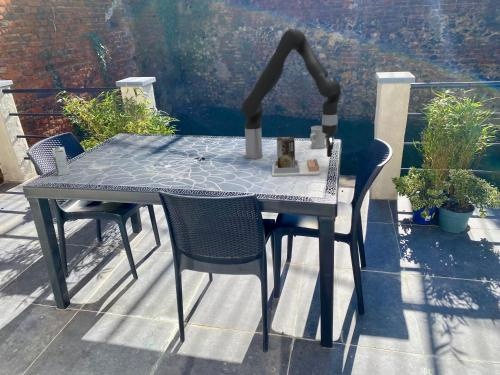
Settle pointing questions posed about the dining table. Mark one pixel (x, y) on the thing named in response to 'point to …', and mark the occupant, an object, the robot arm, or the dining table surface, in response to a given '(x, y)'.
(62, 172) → the syrup box
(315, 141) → the cup
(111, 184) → the dining table surface
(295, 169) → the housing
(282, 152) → the coffee box
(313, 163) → the pink rectangular block
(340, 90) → the robot arm
